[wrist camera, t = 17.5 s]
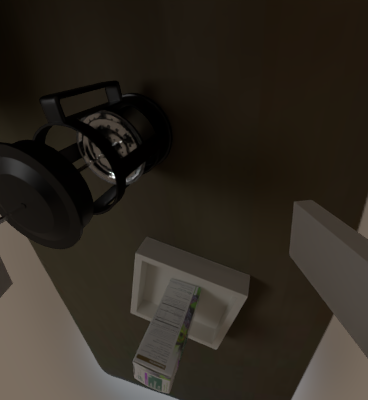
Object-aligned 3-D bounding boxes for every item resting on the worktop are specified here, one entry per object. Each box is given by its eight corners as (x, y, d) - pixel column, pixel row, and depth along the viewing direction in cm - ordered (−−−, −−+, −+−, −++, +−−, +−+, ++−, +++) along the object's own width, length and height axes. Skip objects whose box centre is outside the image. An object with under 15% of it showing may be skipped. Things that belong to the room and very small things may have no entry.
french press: (178, 171, 32) (38, 345, 14) (118, 169, 35) (-57, 307, 17) (163, 72, 26) (-122, 150, 8) (93, 81, 29) (-224, 150, 11)
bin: (139, 295, 51) (130, 312, 48) (146, 236, 41) (135, 252, 37) (220, 329, 48) (216, 350, 45) (250, 275, 38) (247, 296, 35)
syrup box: (198, 305, 45) (171, 397, 33) (168, 295, 46) (132, 380, 34) (201, 286, 41) (173, 380, 30) (169, 276, 43) (130, 362, 31)
